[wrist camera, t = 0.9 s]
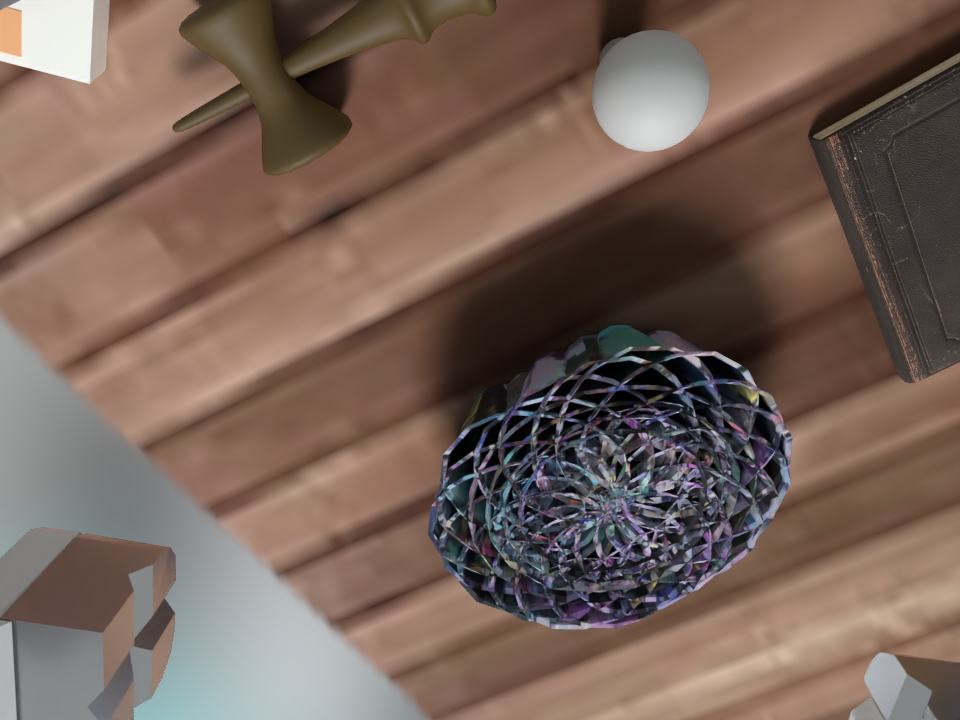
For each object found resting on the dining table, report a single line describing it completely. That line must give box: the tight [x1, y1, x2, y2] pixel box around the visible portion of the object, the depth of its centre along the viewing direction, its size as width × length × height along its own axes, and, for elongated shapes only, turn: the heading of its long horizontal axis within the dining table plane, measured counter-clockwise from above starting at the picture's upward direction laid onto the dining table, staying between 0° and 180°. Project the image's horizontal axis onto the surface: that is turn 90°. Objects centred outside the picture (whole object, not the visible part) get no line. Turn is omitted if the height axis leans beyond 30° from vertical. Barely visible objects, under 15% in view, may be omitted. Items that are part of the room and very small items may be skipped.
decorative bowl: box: [428, 325, 793, 629], centre depth 63 cm, size 26×28×10 cm
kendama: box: [173, 0, 496, 175], centre depth 46 cm, size 6×10×20 cm
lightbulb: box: [592, 30, 710, 151], centre depth 45 cm, size 6×6×11 cm
